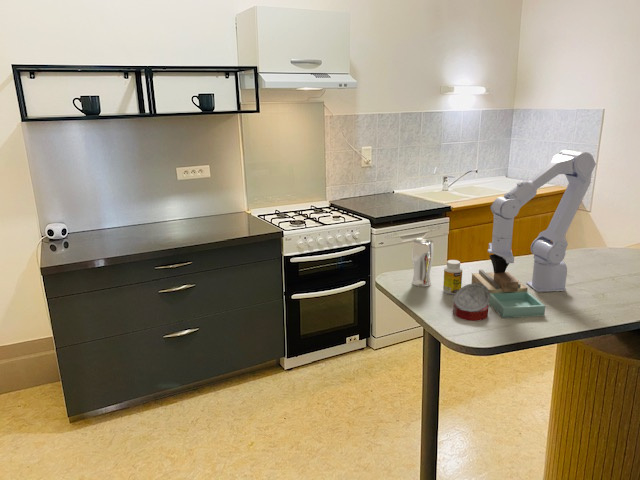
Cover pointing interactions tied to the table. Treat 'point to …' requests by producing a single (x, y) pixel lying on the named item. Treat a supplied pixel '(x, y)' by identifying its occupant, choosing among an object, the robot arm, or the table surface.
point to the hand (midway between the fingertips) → (498, 277)
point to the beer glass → (422, 261)
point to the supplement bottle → (452, 277)
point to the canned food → (472, 302)
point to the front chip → (508, 284)
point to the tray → (516, 304)
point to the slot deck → (493, 282)
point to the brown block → (498, 275)
